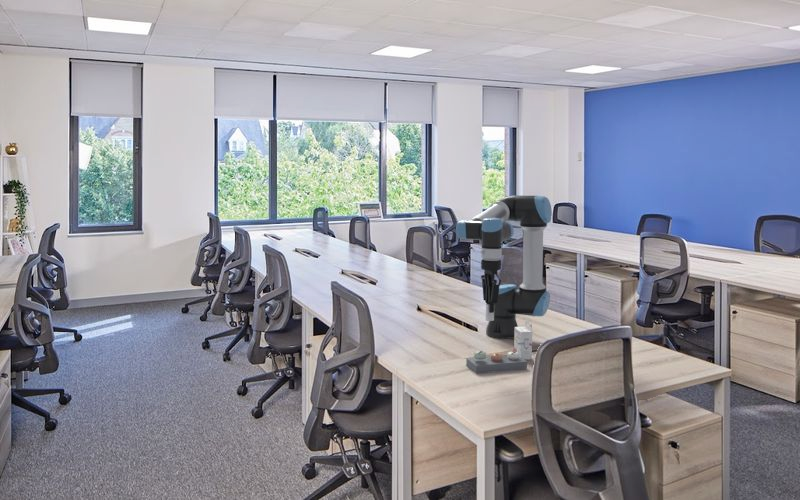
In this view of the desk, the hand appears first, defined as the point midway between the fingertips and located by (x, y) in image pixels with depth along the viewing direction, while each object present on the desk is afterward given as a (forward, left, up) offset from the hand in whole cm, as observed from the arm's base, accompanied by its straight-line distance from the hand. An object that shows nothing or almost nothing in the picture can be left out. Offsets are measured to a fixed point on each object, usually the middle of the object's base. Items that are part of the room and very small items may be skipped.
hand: (489, 320), depth 242 cm
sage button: (+4, 0, -15) cm, 15 cm away
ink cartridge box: (-19, -10, -19) cm, 29 cm away
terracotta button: (-3, 0, -16) cm, 16 cm away
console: (-3, 0, -19) cm, 19 cm away
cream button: (-10, 0, -16) cm, 19 cm away
